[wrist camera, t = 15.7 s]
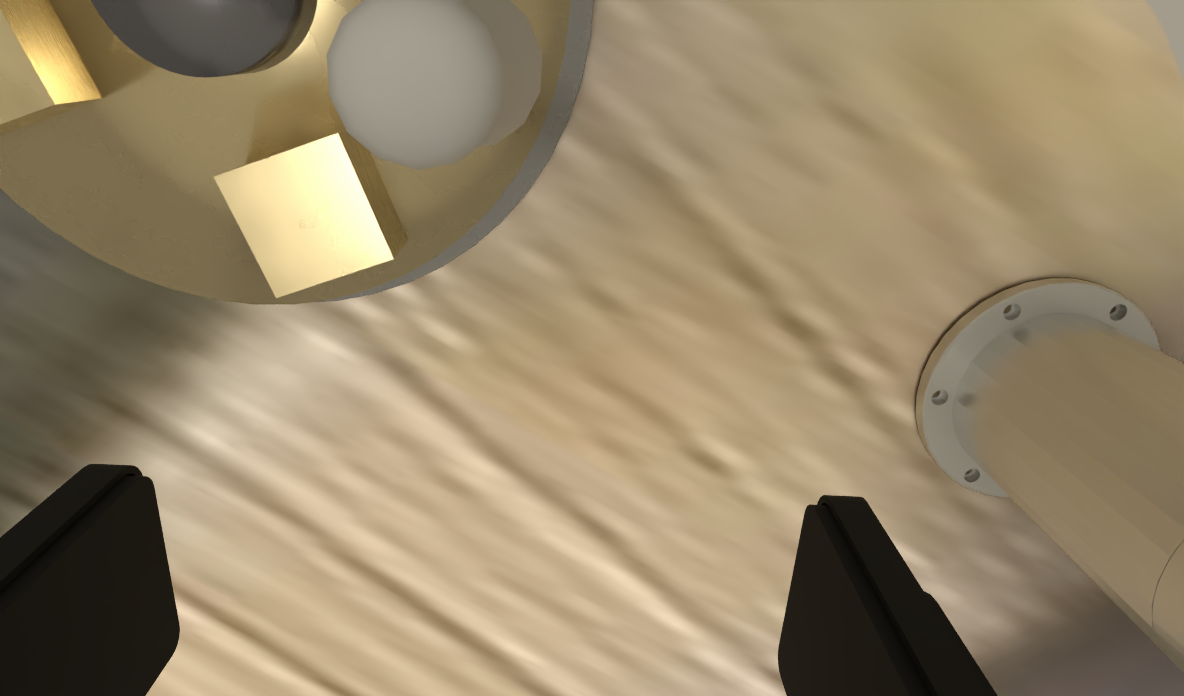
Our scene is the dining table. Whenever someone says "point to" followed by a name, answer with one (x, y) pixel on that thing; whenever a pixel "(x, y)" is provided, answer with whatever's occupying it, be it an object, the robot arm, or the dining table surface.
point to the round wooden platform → (228, 147)
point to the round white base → (538, 154)
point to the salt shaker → (433, 77)
